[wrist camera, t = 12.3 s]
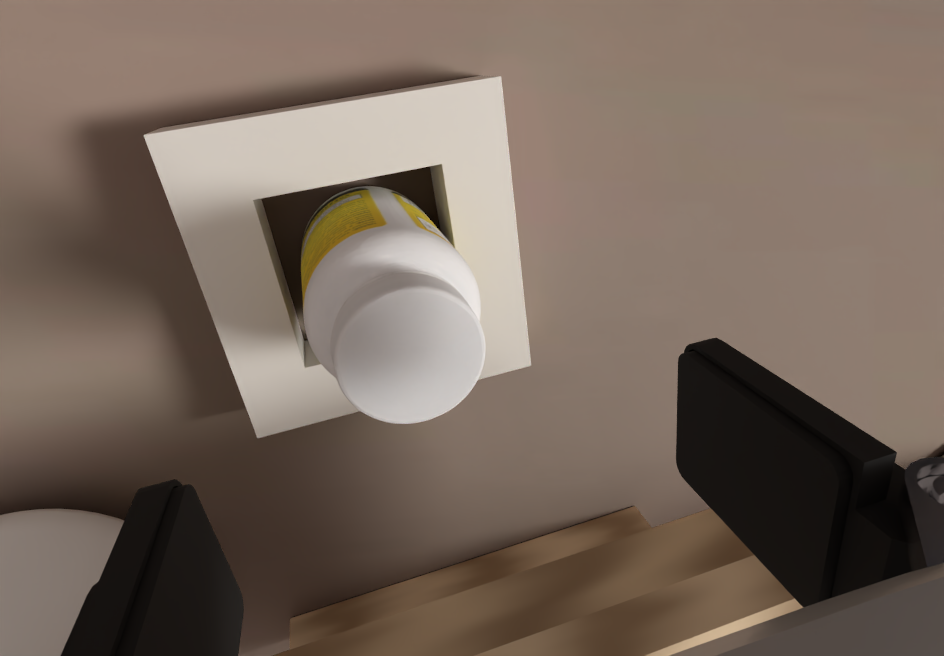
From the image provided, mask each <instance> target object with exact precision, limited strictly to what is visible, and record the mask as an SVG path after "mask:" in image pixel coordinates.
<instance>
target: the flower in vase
mask: <svg viewBox="0 0 944 656" xmlns="http://www.w3.org/2000/svg"><path fill="white" fill-rule="evenodd" d="M123 523H124V520H121V519H119V518H116V517H112V516H108V515H104V514H100V513H95V512H88V511H82V510H72V509H35V510H26V511H18V512H13V513H8V514H3V515H0V656H61V654H62V651H63V649H64V647H65V644H66V642H67V640H68V638H69V635H70V633H71V631H72V628H73V626H74V624H75V621H76V619H77V617H78V615H79V612H80V610H81V608H82V605H83V603H84V601H85V599H86V596H87V594H88V593H89V591H90V589H91V588H92V586H93V585H94V584H96V583H97V582H98V581H99V579H100V577H101V574H102V572H103V570H104V567H105V565H106V563H107V560H108V558H109V556H110V553H111V551H112V549H113V546H114V544H115V542H116V539H117V537H118V535H119V532H120V530H121V528H122V525H123Z"/></svg>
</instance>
